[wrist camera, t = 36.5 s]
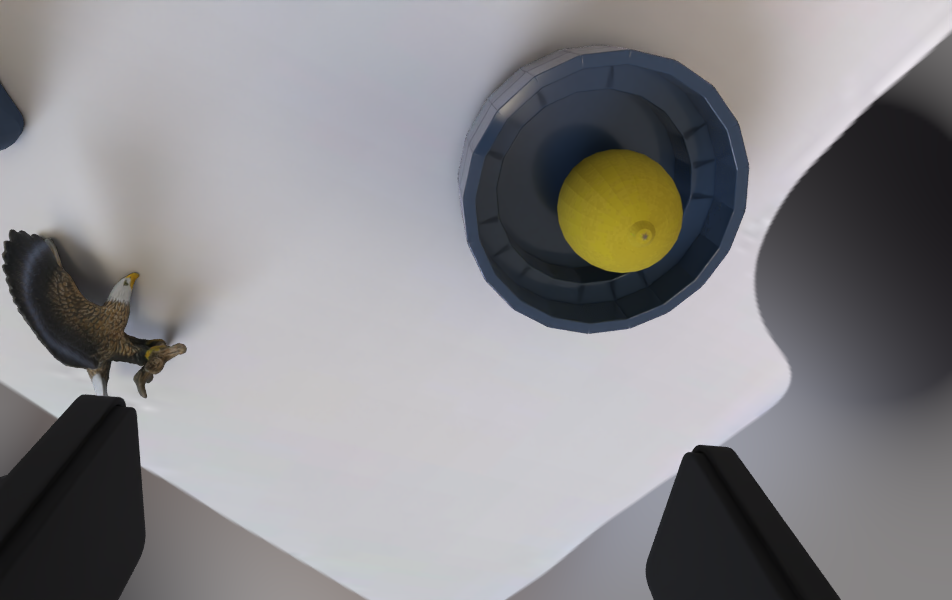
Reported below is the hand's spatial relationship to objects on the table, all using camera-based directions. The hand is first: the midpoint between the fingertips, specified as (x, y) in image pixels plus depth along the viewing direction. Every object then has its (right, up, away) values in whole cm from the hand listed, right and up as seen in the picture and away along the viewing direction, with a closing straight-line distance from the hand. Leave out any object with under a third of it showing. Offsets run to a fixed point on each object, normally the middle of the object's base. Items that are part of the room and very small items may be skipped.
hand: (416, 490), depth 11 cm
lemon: (+7, +9, +23) cm, 26 cm away
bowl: (+7, +10, +23) cm, 26 cm away
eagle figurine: (-19, +4, +24) cm, 31 cm away
